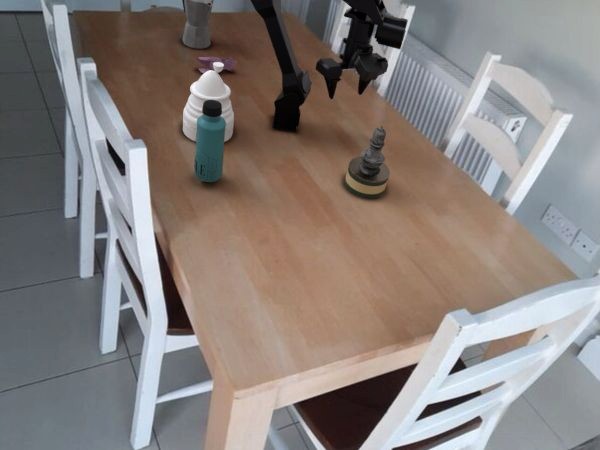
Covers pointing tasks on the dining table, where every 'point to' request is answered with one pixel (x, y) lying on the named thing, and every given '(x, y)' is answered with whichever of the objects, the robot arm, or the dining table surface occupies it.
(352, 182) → the tin
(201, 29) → the coffeepot
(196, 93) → the honey pot
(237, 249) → the dining table surface
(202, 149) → the beverage bottle
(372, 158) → the grey stone figurine
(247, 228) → the dining table surface
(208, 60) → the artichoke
